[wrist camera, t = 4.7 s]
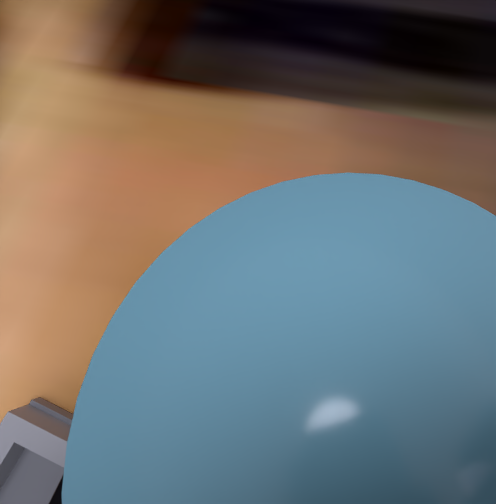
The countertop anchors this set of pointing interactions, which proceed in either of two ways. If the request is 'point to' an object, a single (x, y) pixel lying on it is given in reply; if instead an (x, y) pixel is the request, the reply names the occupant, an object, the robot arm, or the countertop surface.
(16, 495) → the kitchen sink with drainboard
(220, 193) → the countertop surface
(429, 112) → the countertop surface
